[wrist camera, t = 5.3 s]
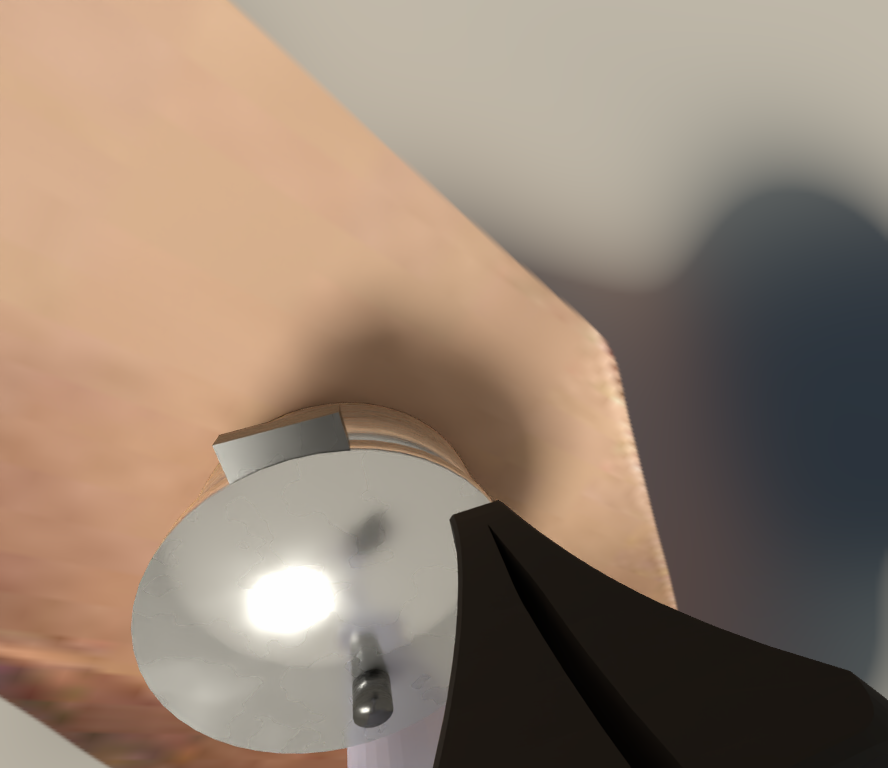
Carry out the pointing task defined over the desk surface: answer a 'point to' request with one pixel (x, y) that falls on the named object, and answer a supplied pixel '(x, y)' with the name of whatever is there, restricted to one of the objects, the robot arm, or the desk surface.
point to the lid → (307, 590)
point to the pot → (378, 433)
